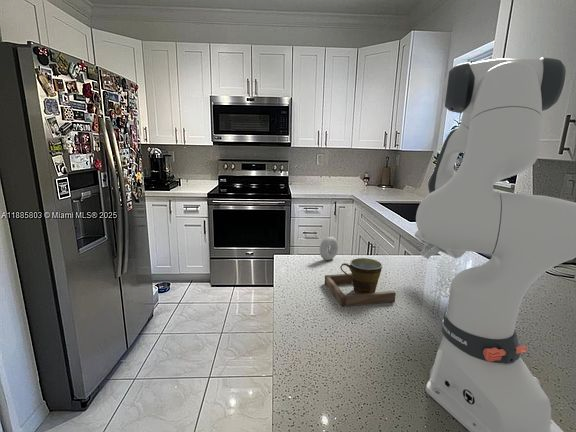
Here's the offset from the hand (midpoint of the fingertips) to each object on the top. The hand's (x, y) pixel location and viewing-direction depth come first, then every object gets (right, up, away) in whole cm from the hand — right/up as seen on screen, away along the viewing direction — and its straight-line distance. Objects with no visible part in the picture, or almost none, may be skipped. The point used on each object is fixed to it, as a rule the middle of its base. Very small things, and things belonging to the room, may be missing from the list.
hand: (423, 256), depth 106 cm
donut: (-28, -5, +27) cm, 39 cm away
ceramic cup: (-22, -12, -2) cm, 25 cm away
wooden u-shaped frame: (-22, -11, -2) cm, 25 cm away
